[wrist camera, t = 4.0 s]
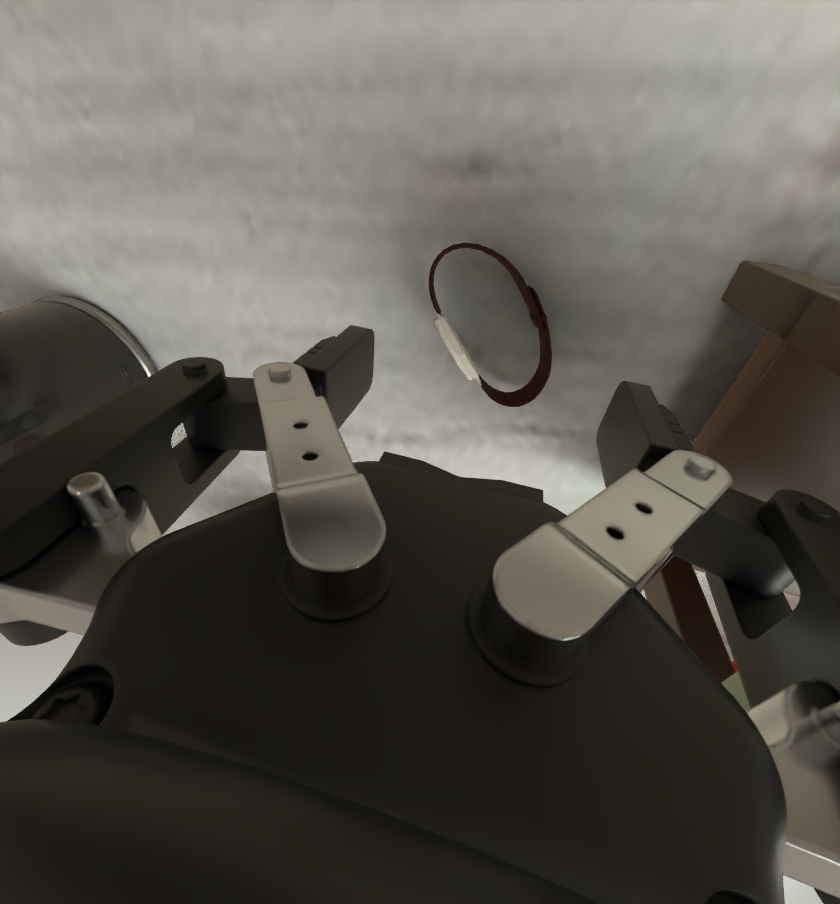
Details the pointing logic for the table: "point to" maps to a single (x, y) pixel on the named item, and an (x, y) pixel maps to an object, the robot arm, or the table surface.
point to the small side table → (766, 432)
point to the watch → (460, 353)
